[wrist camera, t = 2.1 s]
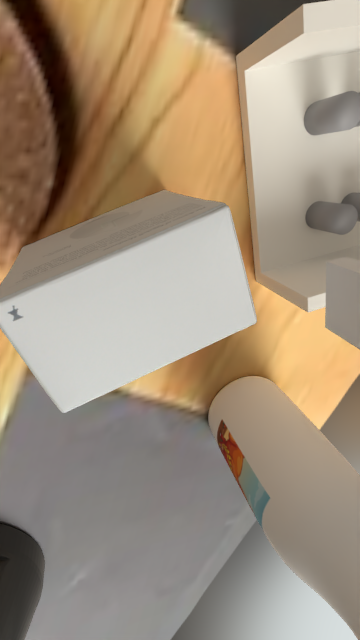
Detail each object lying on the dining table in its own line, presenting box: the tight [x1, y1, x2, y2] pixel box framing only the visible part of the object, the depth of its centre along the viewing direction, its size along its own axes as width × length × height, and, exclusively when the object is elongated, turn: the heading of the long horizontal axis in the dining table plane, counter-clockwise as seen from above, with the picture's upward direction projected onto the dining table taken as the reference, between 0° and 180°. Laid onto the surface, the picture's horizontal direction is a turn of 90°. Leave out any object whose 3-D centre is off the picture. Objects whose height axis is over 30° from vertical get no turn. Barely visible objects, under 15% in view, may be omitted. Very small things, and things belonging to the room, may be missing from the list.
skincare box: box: [0, 190, 257, 413], centre depth 19 cm, size 10×6×10 cm, turn 109°
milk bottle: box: [208, 376, 360, 640], centre depth 23 cm, size 8×8×20 cm
